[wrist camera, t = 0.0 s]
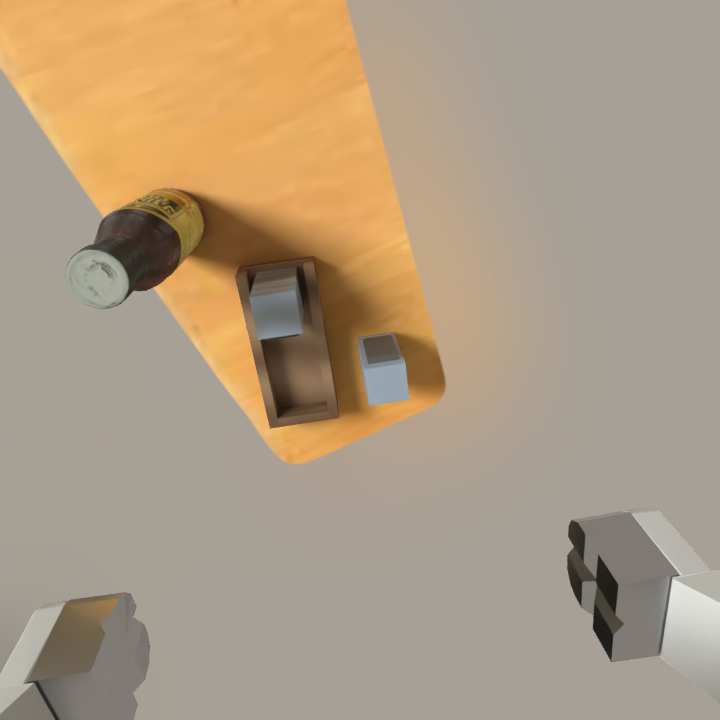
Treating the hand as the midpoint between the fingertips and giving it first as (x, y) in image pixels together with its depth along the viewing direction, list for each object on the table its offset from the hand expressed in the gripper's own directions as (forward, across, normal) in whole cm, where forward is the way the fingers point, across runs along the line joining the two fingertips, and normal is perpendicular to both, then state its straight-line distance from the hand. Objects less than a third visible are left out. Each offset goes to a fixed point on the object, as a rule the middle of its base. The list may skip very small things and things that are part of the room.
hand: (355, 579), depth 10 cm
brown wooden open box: (+48, +5, +14) cm, 50 cm away
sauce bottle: (+48, +14, 0) cm, 50 cm away
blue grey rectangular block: (+48, -4, +17) cm, 51 cm away
